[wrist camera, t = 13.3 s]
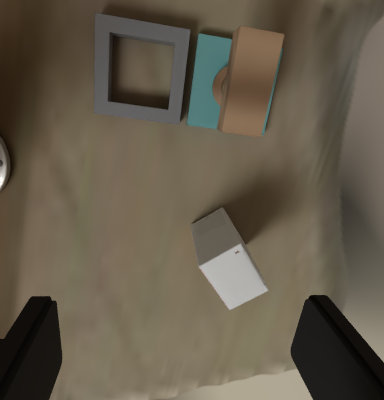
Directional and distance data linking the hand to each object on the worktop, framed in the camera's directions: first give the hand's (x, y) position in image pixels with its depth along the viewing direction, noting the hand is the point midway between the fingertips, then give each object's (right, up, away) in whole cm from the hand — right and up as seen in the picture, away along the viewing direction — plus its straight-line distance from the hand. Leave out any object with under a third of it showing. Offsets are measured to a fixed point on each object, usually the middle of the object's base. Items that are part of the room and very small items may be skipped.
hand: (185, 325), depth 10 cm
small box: (+4, -1, +31) cm, 31 cm away
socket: (-6, +20, +22) cm, 30 cm away
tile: (+5, +19, +23) cm, 30 cm away
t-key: (+5, +18, +22) cm, 29 cm away
